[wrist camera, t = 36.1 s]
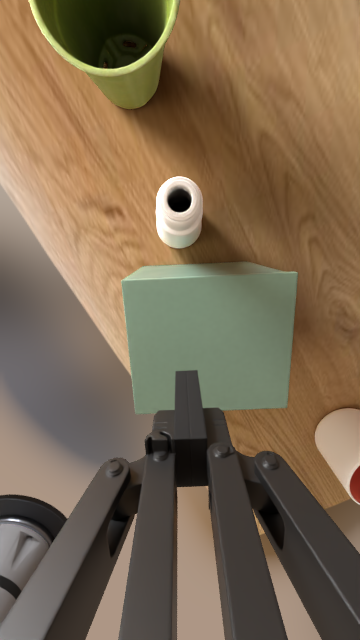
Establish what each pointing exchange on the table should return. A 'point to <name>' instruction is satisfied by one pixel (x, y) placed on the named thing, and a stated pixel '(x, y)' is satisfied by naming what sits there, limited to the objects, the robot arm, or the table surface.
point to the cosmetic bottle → (179, 212)
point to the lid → (211, 338)
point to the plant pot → (111, 42)
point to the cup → (342, 447)
